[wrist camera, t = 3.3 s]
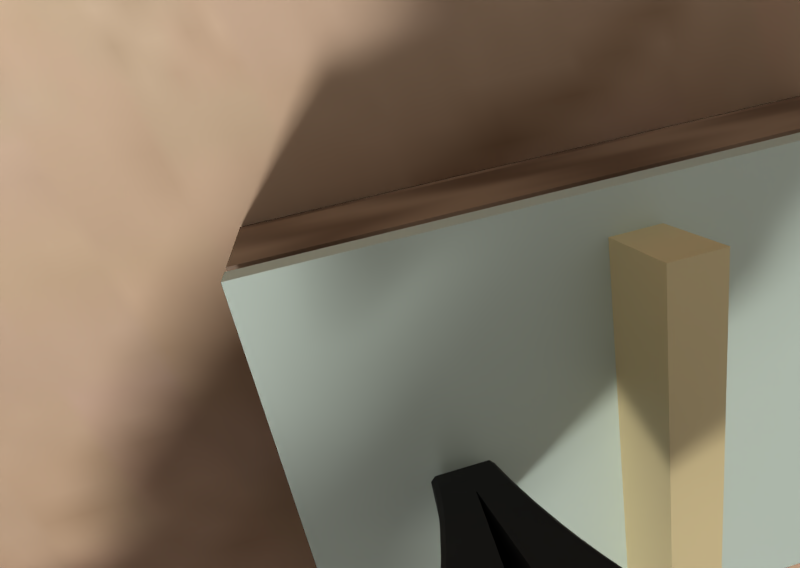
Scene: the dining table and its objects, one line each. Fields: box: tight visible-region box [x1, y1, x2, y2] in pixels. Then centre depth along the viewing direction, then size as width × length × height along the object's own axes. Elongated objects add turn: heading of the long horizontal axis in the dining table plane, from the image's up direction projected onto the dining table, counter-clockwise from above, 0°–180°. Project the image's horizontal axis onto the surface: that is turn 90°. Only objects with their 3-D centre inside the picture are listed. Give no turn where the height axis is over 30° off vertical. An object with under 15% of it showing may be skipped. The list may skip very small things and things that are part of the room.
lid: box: [221, 132, 800, 568], centre depth 12 cm, size 16×12×2 cm
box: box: [226, 96, 800, 271], centre depth 15 cm, size 16×12×3 cm
